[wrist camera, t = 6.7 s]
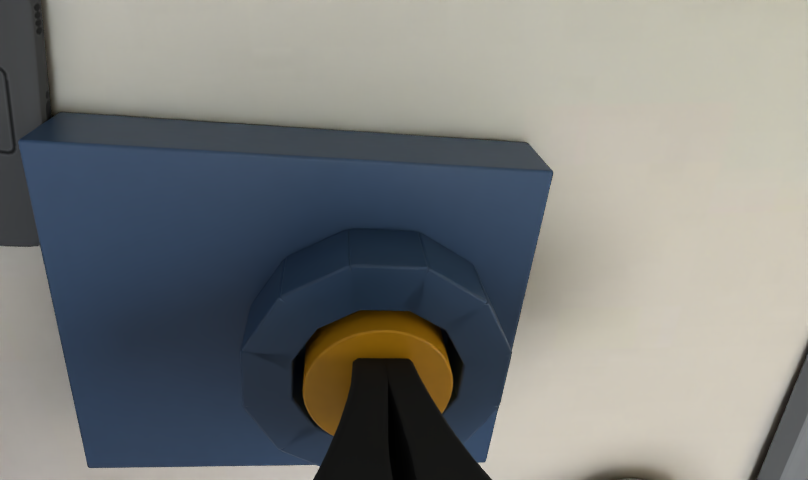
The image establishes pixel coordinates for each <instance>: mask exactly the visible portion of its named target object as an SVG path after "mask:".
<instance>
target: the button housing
mask: <svg viewBox="0 0 808 480" xmlns="http://www.w3.org/2000/svg"><path fill="white" fill-rule="evenodd" d="M18 144H19V149H20V153H21V158H22V163H23V167H24V172H25V177H26V181H27V186H28V191H29V195H30V200H31V205H32V209H33V214H34V219H35V223H36V228H37V233H38V237H39V242H40V247H41V251H42V256H43V260H44V265H45V270H46V274H47V279H48V284H49V288H50V293H51V298H52V302H53V307H54V312H55V316H56V321H57V326H58V330H59V335H60V340H61V344H62V349H63V354H64V358H65V363H66V367H67V372H68V377H69V381H70V386H71V391H72V395H73V400H74V405H75V409H76V414H77V419H78V423H79V428H80V433H81V437H82V442H83V447H84V451H85V456H86V461H87V465H88V467H89V468H126V467H196V466H267V465H318V466H321V464H322V462H323V460H324V457H325V455H326V453H327V451H328V449H329V446H330V444H331V442H332V439H333V437H334V436H332V435H330V434H329V433H327V432H326V431H324V430H323V429H322V428H321V427H319V426H318V425H317V424H316V422H315V421H314V420H313V419H312V417H311V416H310V414H309V413H308V411H307V409H306V406H305V403H304V399H303V377H304V362H305V348H306V343H307V342H308V341H309V339H310V338H311V337H312V335H313V334H314V333H315V331H316V330H317V329H319V328H321V327H323V326H325V325H328V324H330V323H332V322H335V321H337V320H339V319H341V318H344V317H346V316H348V315H351V314H353V313H355V312H357V311H360V310H376V311H410V312H412V313H414V314H416V315H418V316H419V317H421V318H423V319H425V320H427V321H429V322H431V323H432V324H434V325H436V326H438V327H440V329H441V333H442V337H443V340H444V344H445V348H446V352H447V356H448V359H449V363H450V367H451V371H452V375H453V389H452V394H451V397H450V400H449V402H448V405H447V407H446V408H445V410H444V411H443V413H442V415H443V417H444V418H445V420H446V421H447V423H448V424H449V426H450V427H451V429H452V430H453V431H454V433H455V434H456V436H457V437H458V438H459V440H460V441H461V442H462V444H463V445H464V446H465V448H466V449H467V450H468V452H469V453H470V454H471V456H472V457H473V458H474V459H475V461H476V462H477V463H478V462H485V461H486V458H487V454H488V449H489V445H490V441H491V437H492V432H493V428H494V424H495V420H496V415H497V411H498V408H499V405H500V402H501V397H502V393H503V389H504V385H505V380H506V376H507V372H508V368H509V363H510V359H511V354H512V347H513V343H514V338H515V334H516V330H517V326H518V321H519V317H520V313H521V309H522V304H523V300H524V296H525V292H526V287H527V283H528V279H529V274H530V270H531V266H532V262H533V257H534V253H535V249H536V245H537V240H538V236H539V232H540V228H541V223H542V219H543V215H544V210H545V206H546V202H547V198H548V193H549V189H550V185H551V181H552V176H553V171H552V170H551V169H550V167H549V166H548V165H547V164H546V163H545V162H544V161H543V160H542V158H541V157H540V156H539V155H538V154H537V153H536V152H535V151H534V150H533V148H532V147H531V146H530V145H529V144H528V143H524V142H509V141H494V140H479V139H463V138H448V137H433V136H417V135H402V134H387V133H372V132H356V131H341V130H326V129H311V128H295V127H280V126H265V125H250V124H234V123H219V122H204V121H189V120H173V119H158V118H143V117H128V116H112V115H97V114H82V113H67V112H60V113H58V114H56V115H55V116H53V117H52V118H50V119H49V120H47V121H46V122H44V123H43V124H41V125H40V126H38V127H37V128H36V129H34V130H33V131H31V132H30V133H28V134H27V135H25V136H24V137H22V138H21V139H19V141H18Z"/></svg>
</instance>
